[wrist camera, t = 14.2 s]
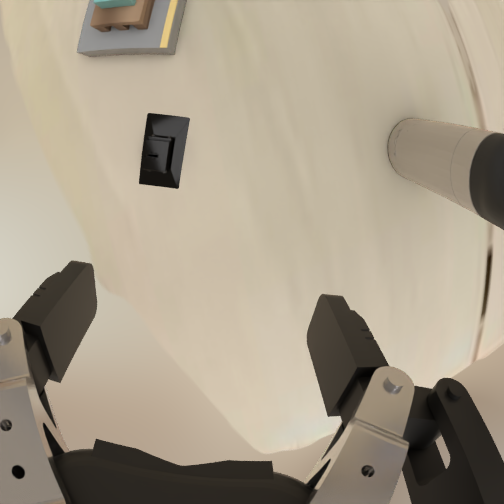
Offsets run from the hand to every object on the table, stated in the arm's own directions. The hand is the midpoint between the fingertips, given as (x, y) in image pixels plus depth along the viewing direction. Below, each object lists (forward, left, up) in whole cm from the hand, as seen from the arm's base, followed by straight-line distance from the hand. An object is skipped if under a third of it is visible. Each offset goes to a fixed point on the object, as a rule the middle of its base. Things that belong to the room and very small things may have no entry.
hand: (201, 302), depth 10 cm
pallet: (+14, -21, -26) cm, 36 cm away
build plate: (+8, -1, -31) cm, 32 cm away
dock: (+14, -21, -30) cm, 39 cm away
